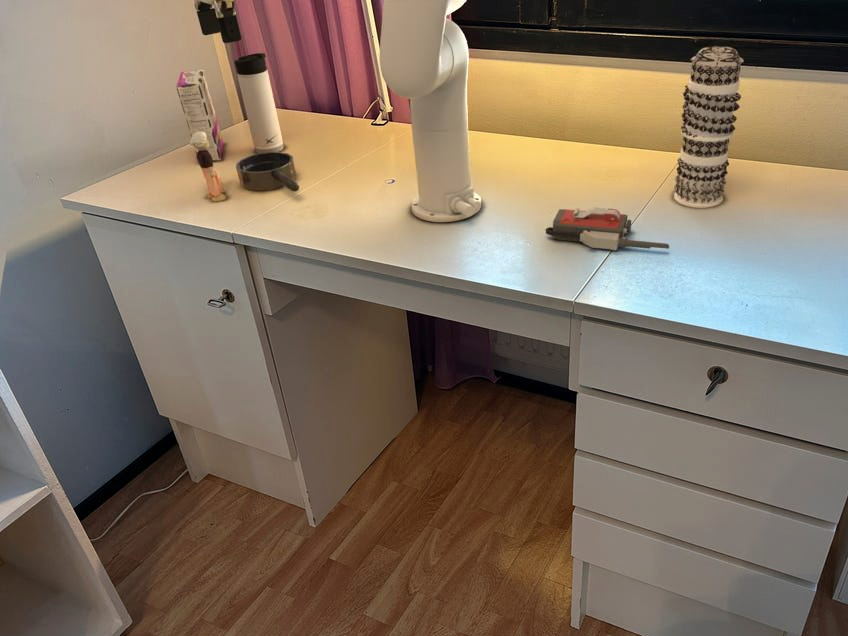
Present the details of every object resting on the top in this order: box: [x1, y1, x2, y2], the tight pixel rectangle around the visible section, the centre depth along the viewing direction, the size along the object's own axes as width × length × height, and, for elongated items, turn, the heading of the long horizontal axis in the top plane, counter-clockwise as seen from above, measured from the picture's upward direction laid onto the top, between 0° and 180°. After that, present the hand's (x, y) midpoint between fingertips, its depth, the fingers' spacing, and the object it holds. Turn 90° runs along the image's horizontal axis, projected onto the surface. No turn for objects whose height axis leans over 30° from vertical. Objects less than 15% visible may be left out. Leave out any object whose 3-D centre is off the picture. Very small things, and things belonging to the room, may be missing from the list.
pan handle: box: [273, 170, 300, 193], centre depth 139 cm, size 10×2×2 cm, turn 36°
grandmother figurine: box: [189, 131, 227, 202], centre depth 138 cm, size 8×4×13 cm, turn 46°
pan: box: [235, 151, 297, 192], centre depth 146 cm, size 11×11×4 cm
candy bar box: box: [175, 69, 224, 162], centre depth 156 cm, size 11×5×16 cm, turn 13°
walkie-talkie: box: [545, 207, 670, 251], centre depth 118 cm, size 9×4×20 cm
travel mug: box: [234, 52, 285, 154], centre depth 156 cm, size 6×7×20 cm
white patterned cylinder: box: [673, 45, 744, 209], centre depth 123 cm, size 9×9×25 cm
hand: (221, 37), depth 128 cm, fingers open, 9 cm apart
